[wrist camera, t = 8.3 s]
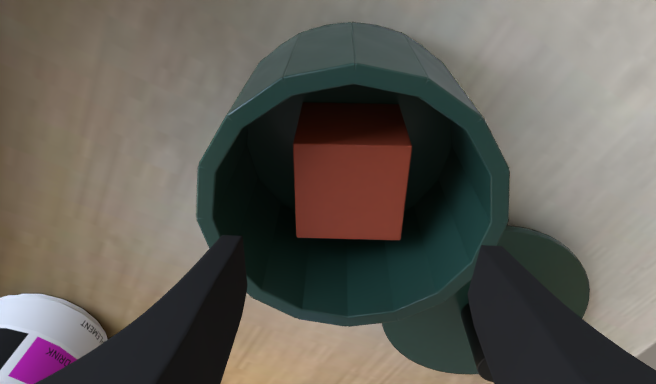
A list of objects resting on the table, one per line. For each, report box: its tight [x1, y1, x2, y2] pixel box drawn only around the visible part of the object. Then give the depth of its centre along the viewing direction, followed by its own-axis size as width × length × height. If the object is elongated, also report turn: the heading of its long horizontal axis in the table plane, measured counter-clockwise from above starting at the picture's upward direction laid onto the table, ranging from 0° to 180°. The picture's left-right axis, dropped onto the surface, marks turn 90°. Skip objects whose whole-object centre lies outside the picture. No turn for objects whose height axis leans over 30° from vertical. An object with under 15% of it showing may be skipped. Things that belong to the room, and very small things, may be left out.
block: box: [293, 102, 412, 240], centre depth 18 cm, size 4×4×4 cm
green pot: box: [196, 22, 510, 327], centre depth 17 cm, size 10×10×6 cm
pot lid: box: [382, 226, 590, 382], centre depth 23 cm, size 11×11×5 cm
